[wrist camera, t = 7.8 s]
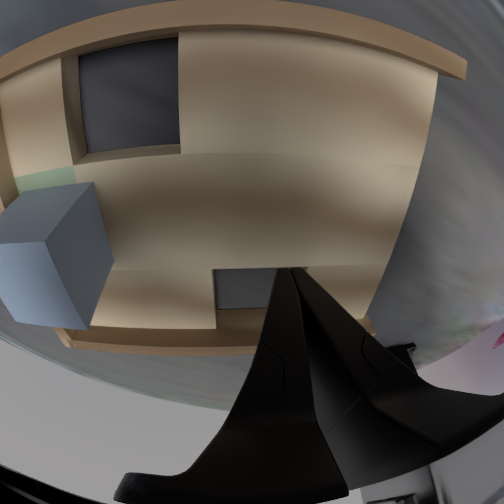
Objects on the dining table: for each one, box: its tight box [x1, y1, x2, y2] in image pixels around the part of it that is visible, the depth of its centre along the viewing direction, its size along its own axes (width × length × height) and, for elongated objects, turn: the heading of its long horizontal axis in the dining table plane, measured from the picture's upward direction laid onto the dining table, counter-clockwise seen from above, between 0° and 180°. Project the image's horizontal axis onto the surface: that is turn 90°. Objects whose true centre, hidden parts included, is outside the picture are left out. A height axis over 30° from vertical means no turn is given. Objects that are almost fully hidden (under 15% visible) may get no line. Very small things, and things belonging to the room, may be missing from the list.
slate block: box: [0, 182, 114, 331], centre depth 10 cm, size 4×4×4 cm
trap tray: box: [0, 0, 467, 356], centre depth 12 cm, size 18×22×3 cm
